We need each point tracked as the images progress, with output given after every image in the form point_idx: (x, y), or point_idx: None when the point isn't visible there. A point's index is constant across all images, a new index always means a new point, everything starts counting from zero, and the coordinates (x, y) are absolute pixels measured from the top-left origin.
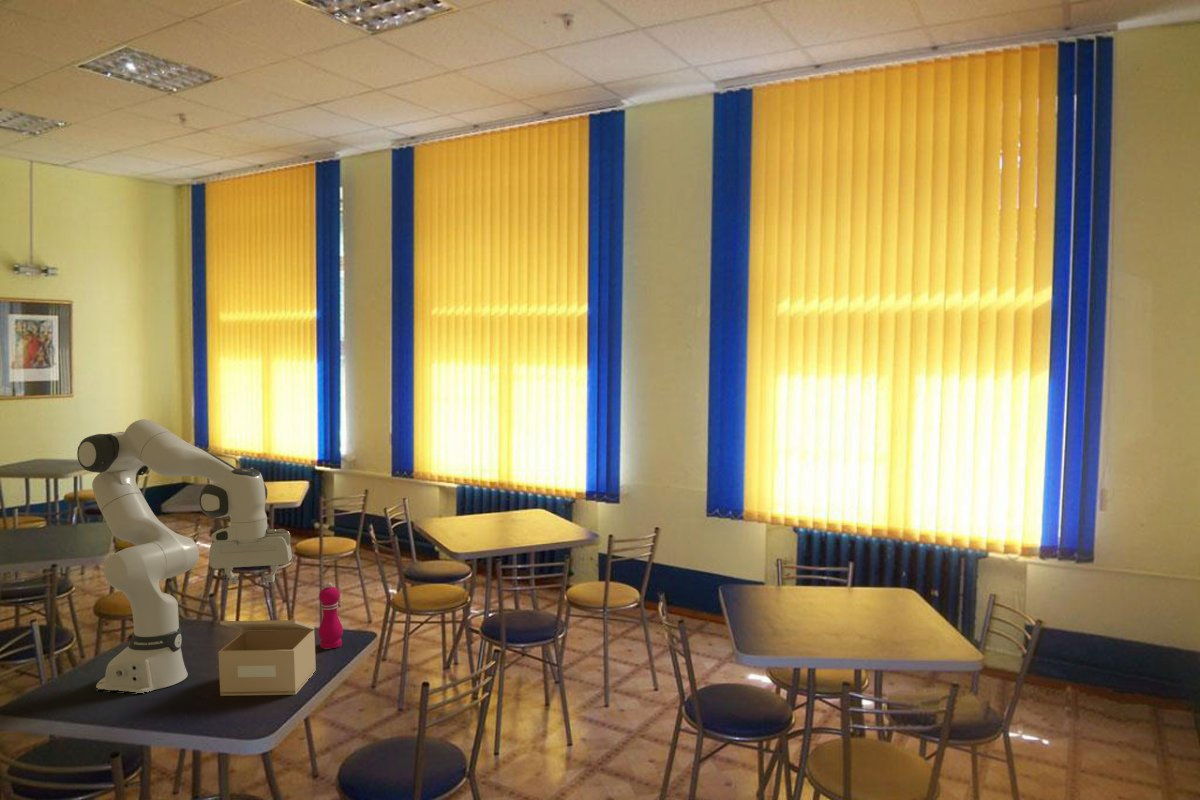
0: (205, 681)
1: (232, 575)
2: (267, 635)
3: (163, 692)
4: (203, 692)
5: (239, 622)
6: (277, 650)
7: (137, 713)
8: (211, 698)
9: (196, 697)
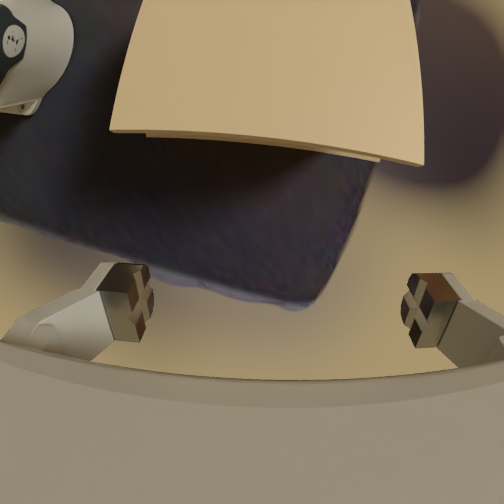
0: (116, 44)
1: (94, 323)
2: None
3: (61, 102)
4: None
5: (190, 133)
6: (332, 151)
7: (67, 192)
8: None
9: None
